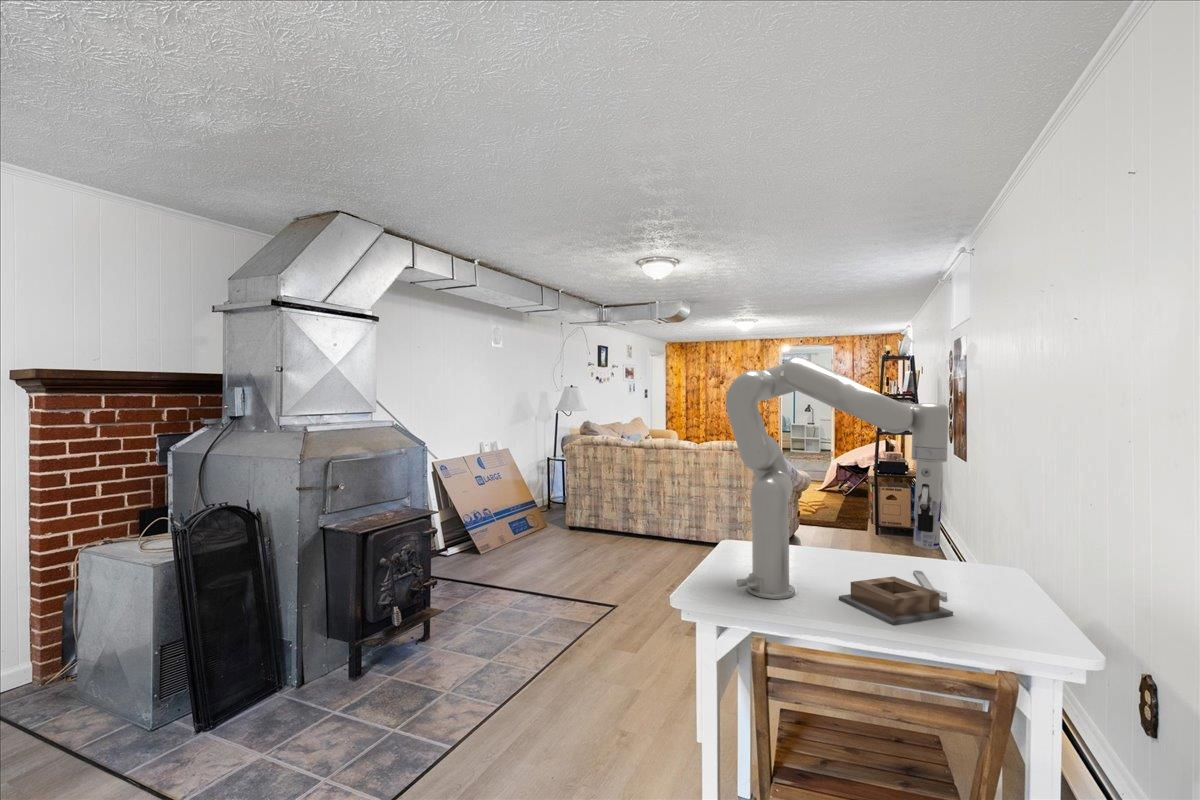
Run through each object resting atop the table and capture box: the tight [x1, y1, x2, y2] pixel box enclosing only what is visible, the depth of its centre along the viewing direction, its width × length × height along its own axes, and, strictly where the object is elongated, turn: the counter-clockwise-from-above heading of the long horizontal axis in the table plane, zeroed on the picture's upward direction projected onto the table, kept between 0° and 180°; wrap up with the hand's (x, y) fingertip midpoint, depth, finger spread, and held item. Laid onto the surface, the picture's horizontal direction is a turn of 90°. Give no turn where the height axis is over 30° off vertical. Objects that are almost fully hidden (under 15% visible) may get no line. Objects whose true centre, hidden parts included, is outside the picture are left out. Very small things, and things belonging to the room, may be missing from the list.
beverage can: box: [912, 484, 942, 550], centre depth 143 cm, size 6×6×15 cm
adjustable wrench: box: [912, 570, 948, 603], centre depth 162 cm, size 25×6×2 cm, turn 157°
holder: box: [838, 576, 954, 626], centre depth 147 cm, size 18×18×5 cm
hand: (926, 528), depth 144 cm, fingers closed on beverage can, 5 cm apart
